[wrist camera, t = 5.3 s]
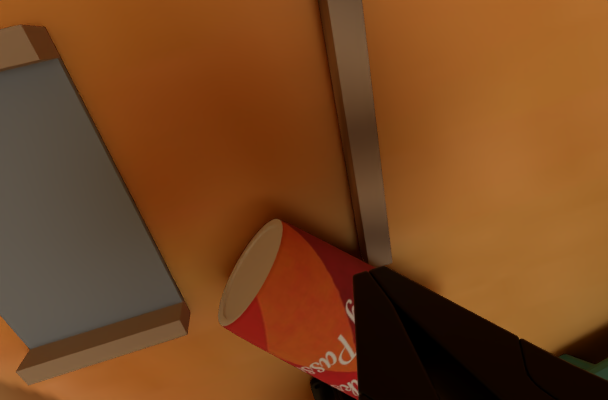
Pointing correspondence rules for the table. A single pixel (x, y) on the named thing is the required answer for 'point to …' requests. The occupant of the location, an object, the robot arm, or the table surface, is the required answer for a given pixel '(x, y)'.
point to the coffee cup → (296, 302)
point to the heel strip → (357, 124)
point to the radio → (589, 365)
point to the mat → (70, 226)
